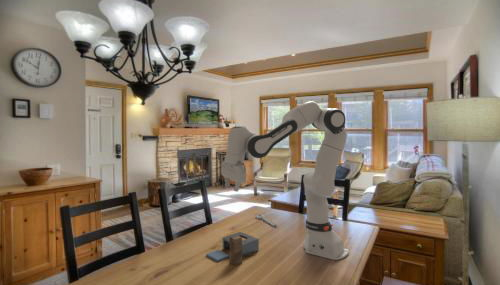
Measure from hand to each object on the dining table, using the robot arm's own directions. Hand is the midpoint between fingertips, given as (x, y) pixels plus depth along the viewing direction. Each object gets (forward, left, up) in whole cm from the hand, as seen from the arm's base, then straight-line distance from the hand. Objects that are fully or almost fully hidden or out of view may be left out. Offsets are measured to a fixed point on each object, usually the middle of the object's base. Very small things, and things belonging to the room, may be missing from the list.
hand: (231, 188), depth 135 cm
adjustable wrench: (+25, -50, -34) cm, 65 cm away
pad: (+5, +5, -33) cm, 34 cm away
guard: (+3, -8, -33) cm, 34 cm away
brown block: (-6, +3, -33) cm, 34 cm away
